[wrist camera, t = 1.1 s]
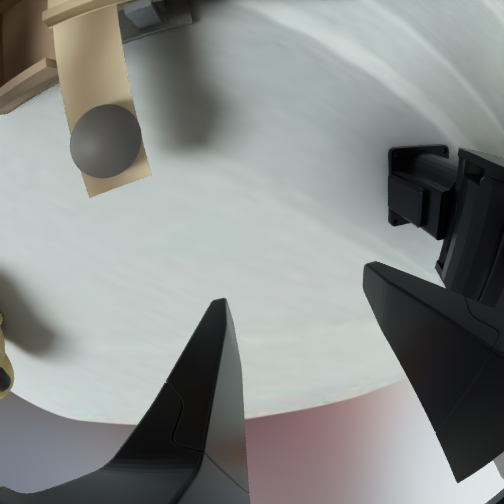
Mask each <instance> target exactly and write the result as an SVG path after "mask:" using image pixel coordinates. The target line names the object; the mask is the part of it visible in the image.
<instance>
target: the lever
mask: <svg viewBox="0 0 504 504" xmlns="http://www.w3.org/2000/svg"><path fill="white" fill-rule="evenodd" d="M134 1H137V0H48V10H46V11H43V12H42V21H43V22H44V23H45V24H46V25H47V26H48V27H49V30H50V31H51V32H52V33H53V34H54V45H55V53H56V61H57V68H58V75H59V81H60V87H61V93H62V98H63V103H64V108H65V112H66V117H67V121H68V126H69V130H70V134H71V138H70V151H71V156H72V158H73V161H74V163H75V164H76V166H77V167H78V168H79V169H80V170H81V173H82V176H83V180H84V183H85V186H86V189H87V192H88V195H89V198H91V197H93V196H96V195H98V194H101V193H104V192H106V191H109V190H111V189H114V188H117V187H120V186H122V185H125V184H128V183H131V182H134V181H136V180H139V179H142V178H145V177H148V176H151V171H150V167H149V164H148V160H147V156H146V152H145V148H144V145H143V141H142V136H141V129H140V126H139V123H138V120H137V116H136V111H135V107H134V103H133V98H132V93H131V89H130V84H129V79H128V74H127V68H126V63H125V58H124V52H123V46H122V40H121V34H120V27H119V20H118V13H117V11H119V10H122V9H124V5H125V4H128V3H131V2H134ZM152 1H153V2H157V1H162V0H152Z"/></svg>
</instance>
